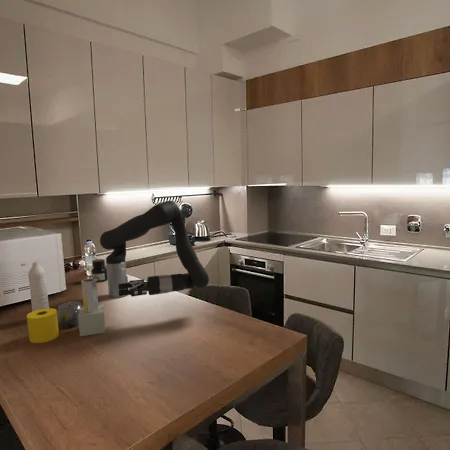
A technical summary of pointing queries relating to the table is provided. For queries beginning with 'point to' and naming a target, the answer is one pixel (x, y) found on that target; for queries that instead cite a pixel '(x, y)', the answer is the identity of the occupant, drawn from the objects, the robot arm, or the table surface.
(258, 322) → the table surface
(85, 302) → the sleeve
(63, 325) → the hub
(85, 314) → the sage stand
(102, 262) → the ink bottle
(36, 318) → the yellow toilet paper roll
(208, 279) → the robot arm
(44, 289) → the water bottle
